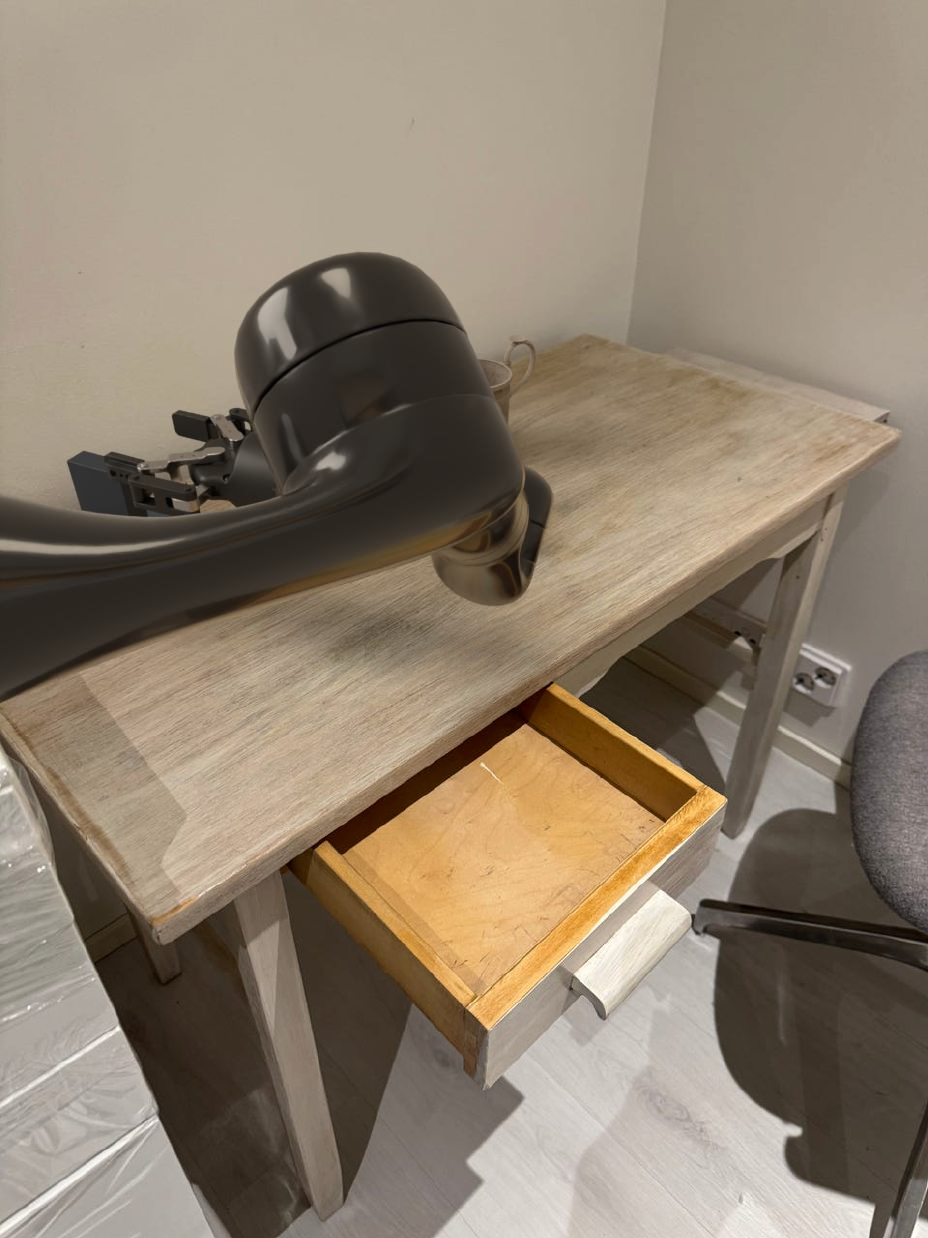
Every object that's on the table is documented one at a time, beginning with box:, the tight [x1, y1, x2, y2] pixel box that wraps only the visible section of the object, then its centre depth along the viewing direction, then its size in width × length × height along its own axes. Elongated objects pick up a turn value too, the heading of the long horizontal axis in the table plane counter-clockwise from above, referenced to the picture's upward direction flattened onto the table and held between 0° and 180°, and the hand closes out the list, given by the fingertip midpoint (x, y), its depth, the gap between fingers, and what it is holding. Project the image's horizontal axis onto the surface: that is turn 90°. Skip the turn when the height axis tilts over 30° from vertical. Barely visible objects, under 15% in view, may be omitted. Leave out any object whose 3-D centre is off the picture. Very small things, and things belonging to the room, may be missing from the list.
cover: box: [66, 450, 171, 517], centre depth 84 cm, size 10×9×10 cm
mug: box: [477, 335, 537, 424], centre depth 103 cm, size 14×10×12 cm
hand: (143, 442), depth 76 cm, fingers open, 8 cm apart
